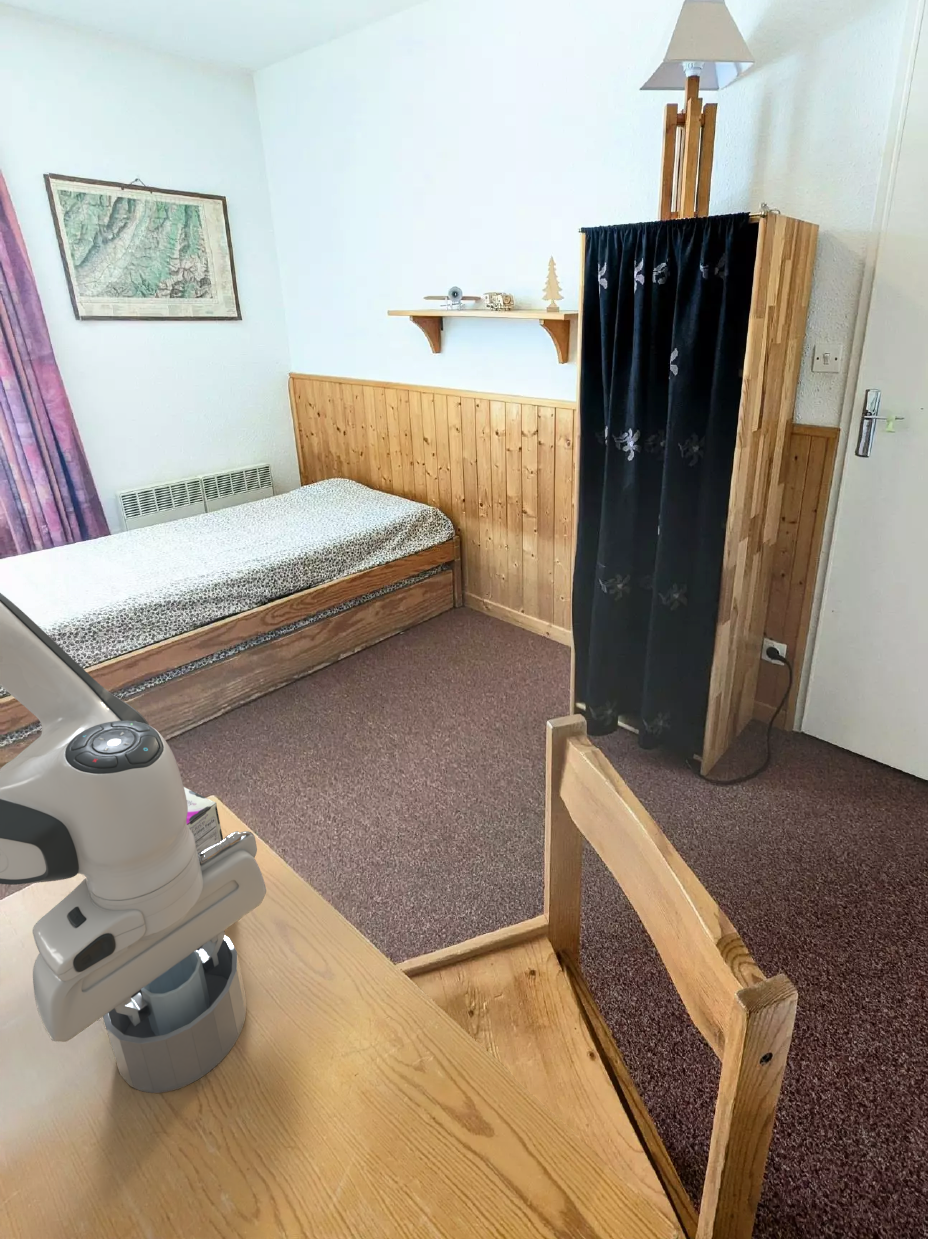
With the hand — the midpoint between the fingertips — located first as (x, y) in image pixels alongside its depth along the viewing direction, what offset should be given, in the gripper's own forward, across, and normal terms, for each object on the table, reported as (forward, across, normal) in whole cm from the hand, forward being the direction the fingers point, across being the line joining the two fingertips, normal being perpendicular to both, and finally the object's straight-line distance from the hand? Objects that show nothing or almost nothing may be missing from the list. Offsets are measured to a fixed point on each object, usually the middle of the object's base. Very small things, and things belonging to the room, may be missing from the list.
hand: (174, 990), depth 67 cm
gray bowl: (+6, 0, 0) cm, 6 cm away
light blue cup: (+3, 0, 0) cm, 3 cm away
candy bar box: (+6, -8, -14) cm, 17 cm away
